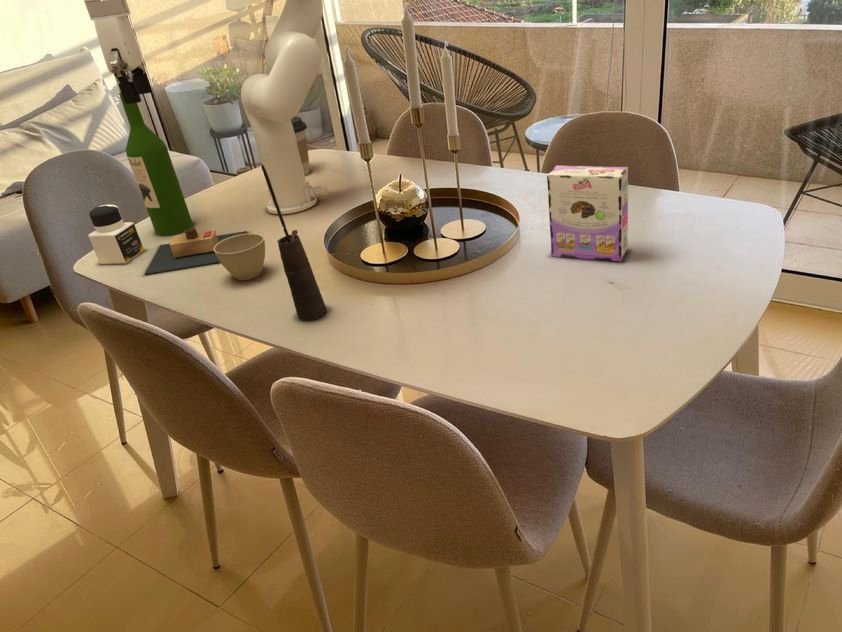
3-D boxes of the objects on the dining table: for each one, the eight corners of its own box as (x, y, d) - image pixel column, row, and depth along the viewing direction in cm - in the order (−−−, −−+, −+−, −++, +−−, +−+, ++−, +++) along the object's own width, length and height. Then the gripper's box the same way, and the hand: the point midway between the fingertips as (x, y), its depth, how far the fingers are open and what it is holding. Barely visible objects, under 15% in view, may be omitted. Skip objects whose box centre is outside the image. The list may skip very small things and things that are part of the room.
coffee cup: (271, 181, 195) (256, 128, 187) (286, 168, 205) (273, 116, 197) (308, 179, 193) (295, 125, 185) (322, 166, 202) (310, 113, 194)
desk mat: (247, 232, 163) (246, 230, 163) (239, 259, 150) (238, 258, 150) (160, 246, 162) (160, 244, 162) (145, 275, 148) (144, 273, 148)
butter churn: (310, 295, 131) (272, 148, 117) (350, 303, 127) (315, 151, 112) (277, 318, 125) (232, 166, 110) (317, 327, 120) (275, 169, 106)
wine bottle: (147, 234, 169) (95, 97, 152) (173, 220, 176) (125, 87, 159) (175, 236, 166) (125, 96, 149) (200, 222, 173) (155, 86, 156)
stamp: (174, 259, 153) (166, 237, 150) (179, 250, 157) (171, 228, 154) (215, 252, 154) (208, 230, 151) (219, 243, 158) (212, 222, 155)
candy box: (628, 250, 133) (630, 165, 124) (620, 263, 128) (621, 176, 120) (559, 244, 138) (556, 163, 130) (550, 256, 134) (545, 173, 125)
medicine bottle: (126, 264, 155) (105, 213, 149) (99, 264, 157) (77, 214, 150) (145, 250, 161) (125, 201, 154) (118, 250, 162) (98, 202, 156)
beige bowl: (282, 265, 145) (273, 233, 141) (255, 287, 137) (245, 254, 133) (242, 263, 148) (232, 232, 144) (213, 284, 140) (202, 252, 136)
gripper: (101, 7, 145) (131, 92, 154) (75, 16, 130) (110, 109, 139) (137, 2, 145) (165, 87, 154) (115, 10, 131) (148, 104, 140)
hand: (139, 98), depth 147 cm, fingers open, 9 cm apart
